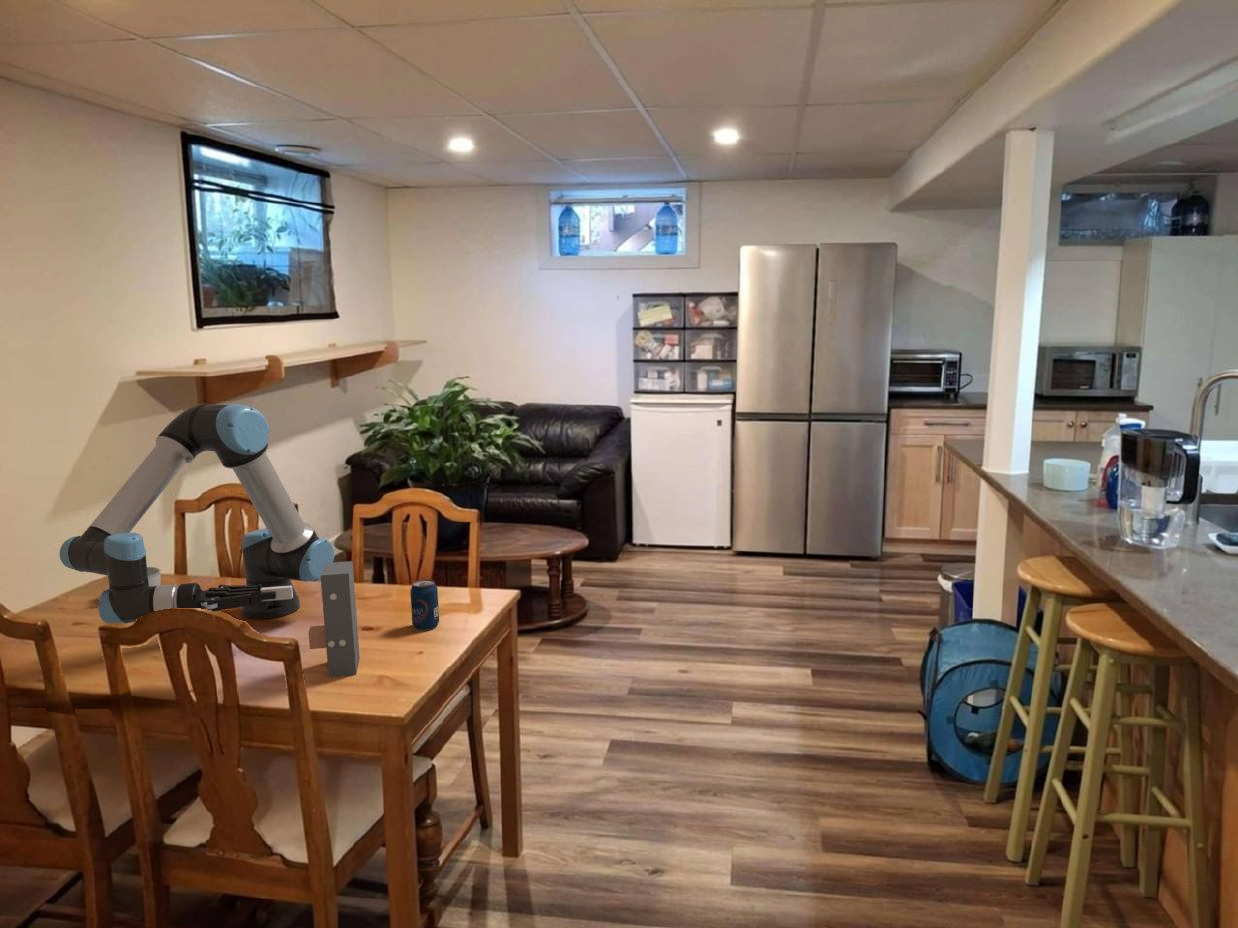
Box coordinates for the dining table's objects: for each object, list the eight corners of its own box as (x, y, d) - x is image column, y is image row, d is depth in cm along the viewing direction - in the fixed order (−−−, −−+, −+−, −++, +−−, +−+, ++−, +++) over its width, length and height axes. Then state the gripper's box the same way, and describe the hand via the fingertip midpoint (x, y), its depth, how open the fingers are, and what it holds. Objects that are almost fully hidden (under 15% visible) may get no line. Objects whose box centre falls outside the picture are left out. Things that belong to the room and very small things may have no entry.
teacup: (151, 589, 266) (148, 563, 265) (170, 595, 260) (167, 569, 259) (103, 602, 255) (100, 575, 254) (121, 608, 249) (118, 581, 248)
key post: (328, 678, 198) (320, 576, 194) (333, 660, 209) (325, 563, 204) (356, 675, 200) (348, 574, 196) (359, 658, 210) (352, 561, 206)
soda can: (407, 629, 228) (404, 585, 226) (422, 620, 234) (419, 577, 232) (430, 632, 226) (427, 587, 224) (444, 623, 232) (442, 580, 230)
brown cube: (309, 649, 200) (308, 632, 199) (312, 642, 204) (310, 626, 203) (328, 647, 201) (326, 630, 200) (330, 641, 205) (328, 624, 204)
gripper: (188, 607, 201) (297, 599, 206) (173, 627, 189) (289, 617, 194) (185, 576, 200) (294, 568, 205) (169, 593, 187) (286, 584, 192)
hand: (291, 592), depth 199 cm, fingers closed
